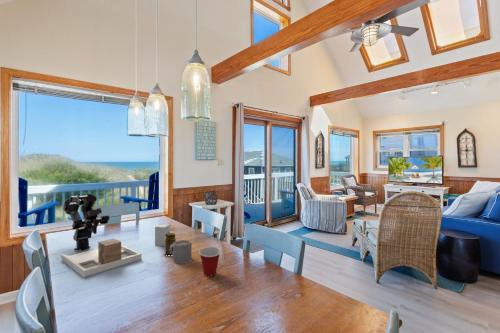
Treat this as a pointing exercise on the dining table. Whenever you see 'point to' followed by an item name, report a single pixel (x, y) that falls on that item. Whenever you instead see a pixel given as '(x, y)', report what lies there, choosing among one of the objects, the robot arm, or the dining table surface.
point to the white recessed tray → (90, 264)
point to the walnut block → (109, 251)
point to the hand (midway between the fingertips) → (95, 233)
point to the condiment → (169, 243)
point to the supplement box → (161, 234)
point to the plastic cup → (209, 260)
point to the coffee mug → (181, 251)
